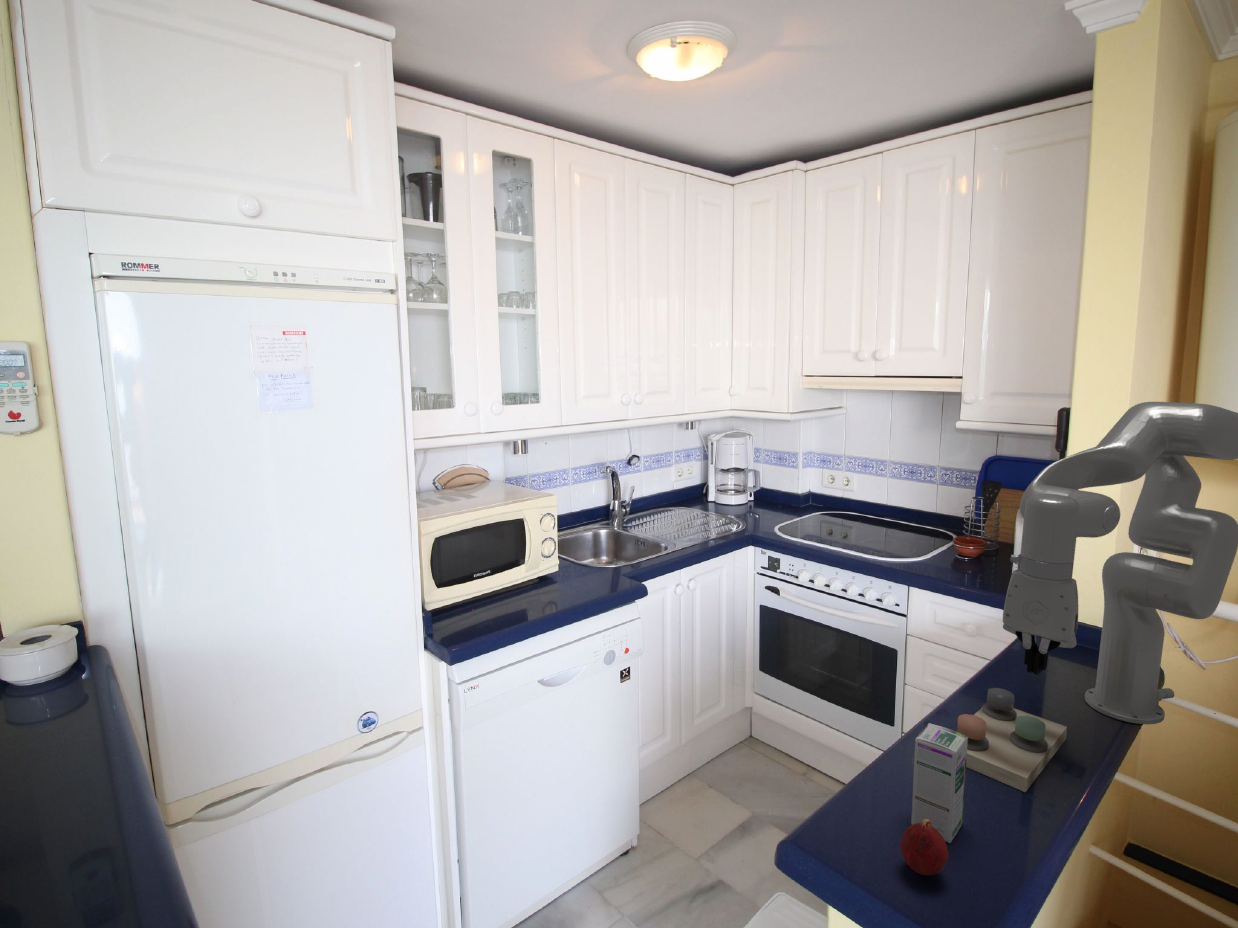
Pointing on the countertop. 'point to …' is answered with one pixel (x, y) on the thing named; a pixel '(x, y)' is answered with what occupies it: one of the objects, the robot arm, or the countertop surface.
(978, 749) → the button panel
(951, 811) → the syrup box
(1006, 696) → the charcoal button
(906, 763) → the countertop surface
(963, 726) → the terracotta button
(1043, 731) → the green button
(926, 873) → the onion
